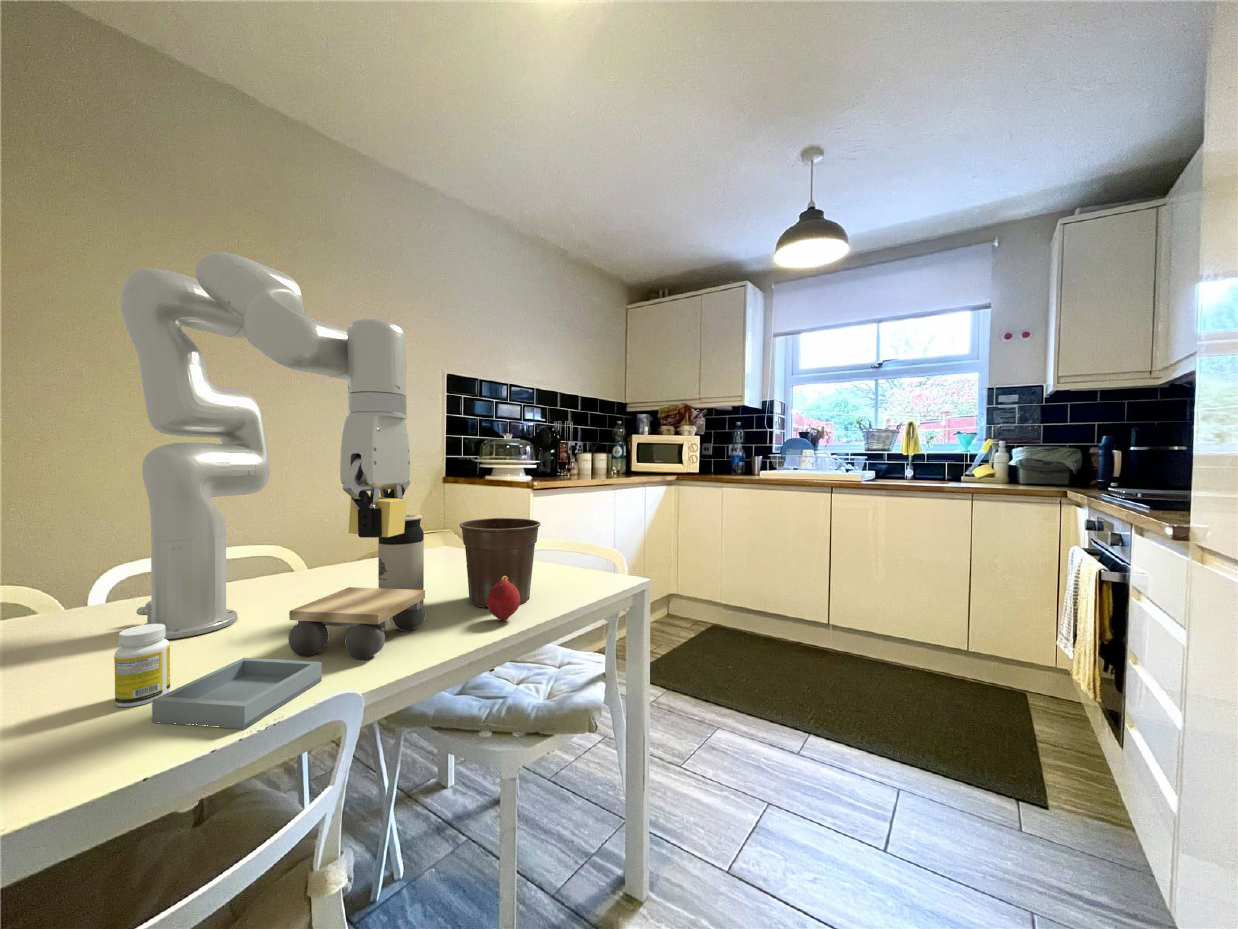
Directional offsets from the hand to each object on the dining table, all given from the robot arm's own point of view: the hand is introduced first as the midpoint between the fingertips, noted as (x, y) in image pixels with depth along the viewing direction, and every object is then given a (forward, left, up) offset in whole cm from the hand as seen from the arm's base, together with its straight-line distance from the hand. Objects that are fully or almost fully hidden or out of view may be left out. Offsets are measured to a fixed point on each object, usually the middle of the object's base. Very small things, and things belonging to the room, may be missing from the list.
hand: (380, 533), depth 69 cm
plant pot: (+7, +30, -19) cm, 36 cm away
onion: (+12, +18, -18) cm, 28 cm away
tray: (-9, -13, -18) cm, 24 cm away
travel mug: (-10, +22, -18) cm, 30 cm away
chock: (-1, 0, 0) cm, 1 cm away
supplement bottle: (-21, -14, -18) cm, 32 cm away
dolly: (-7, +6, -18) cm, 20 cm away
